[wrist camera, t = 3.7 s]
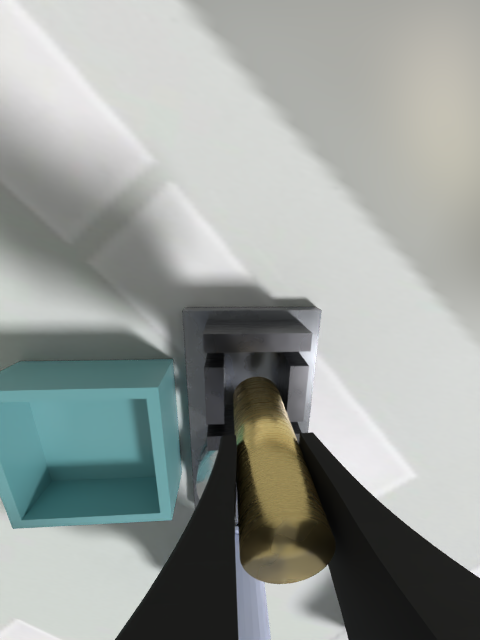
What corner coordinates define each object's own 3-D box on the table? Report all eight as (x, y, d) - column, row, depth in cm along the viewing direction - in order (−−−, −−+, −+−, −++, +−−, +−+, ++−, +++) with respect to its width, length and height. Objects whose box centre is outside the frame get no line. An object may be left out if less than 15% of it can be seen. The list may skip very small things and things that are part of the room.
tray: (181, 472, 21) (171, 520, 17) (52, 477, 21) (12, 528, 17) (172, 359, 18) (158, 387, 14) (19, 361, 17) (-40, 391, 14)
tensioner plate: (296, 499, 23) (309, 548, 19) (196, 504, 22) (190, 556, 19) (316, 307, 17) (341, 321, 14) (185, 307, 17) (172, 323, 13)
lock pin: (277, 416, 15) (329, 580, 8) (233, 417, 15) (239, 586, 7) (280, 376, 14) (341, 514, 7) (233, 377, 14) (240, 520, 7)
